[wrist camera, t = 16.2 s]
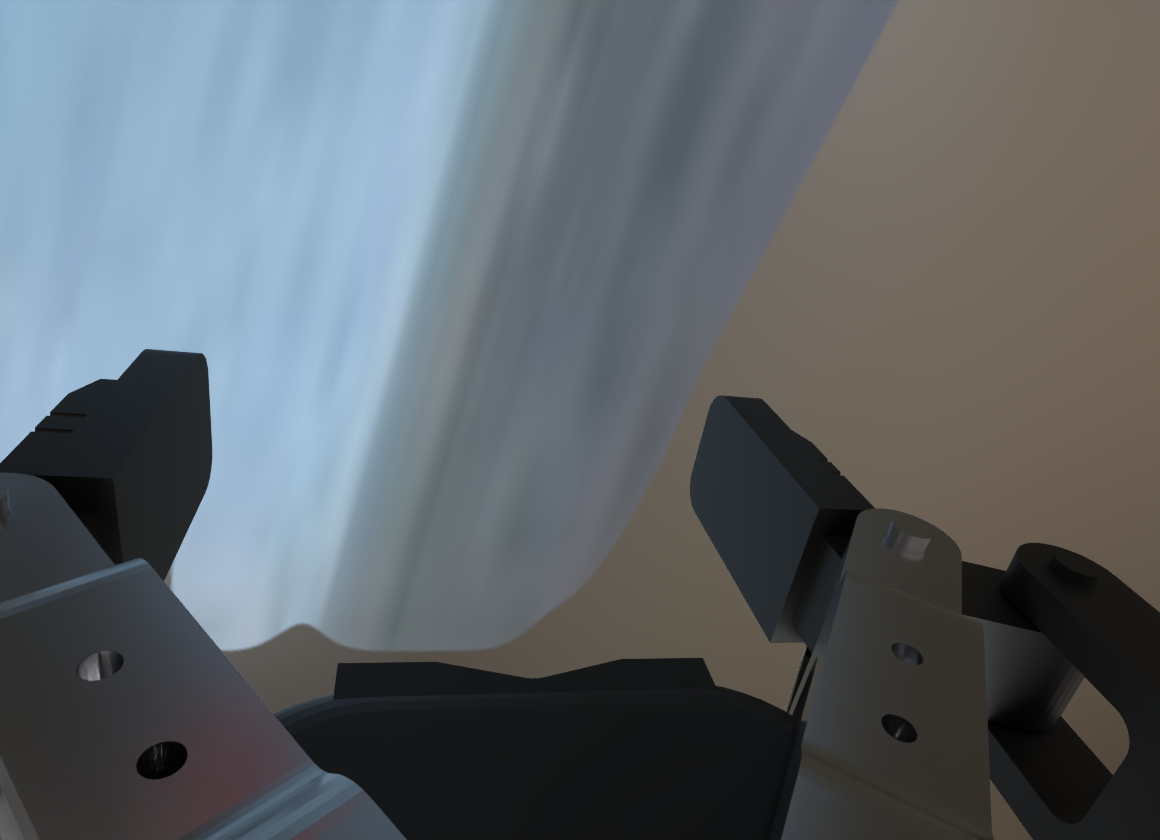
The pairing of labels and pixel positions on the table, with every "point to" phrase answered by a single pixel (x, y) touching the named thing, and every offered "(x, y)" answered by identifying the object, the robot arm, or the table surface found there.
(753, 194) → the table surface
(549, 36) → the table surface
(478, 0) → the table surface
